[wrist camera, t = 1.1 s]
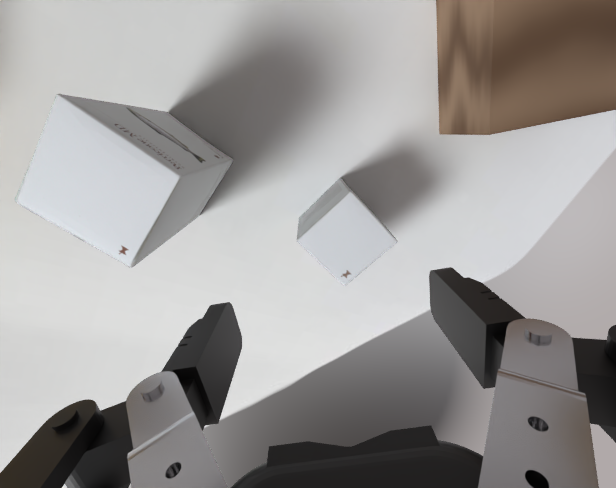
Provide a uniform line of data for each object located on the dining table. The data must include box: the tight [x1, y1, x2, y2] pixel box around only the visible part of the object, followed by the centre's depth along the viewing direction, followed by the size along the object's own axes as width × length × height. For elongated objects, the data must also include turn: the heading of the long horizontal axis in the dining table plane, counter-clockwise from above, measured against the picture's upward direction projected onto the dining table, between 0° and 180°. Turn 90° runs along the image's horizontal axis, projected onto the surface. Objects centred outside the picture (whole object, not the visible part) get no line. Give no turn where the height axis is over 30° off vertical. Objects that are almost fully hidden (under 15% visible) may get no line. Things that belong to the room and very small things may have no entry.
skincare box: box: [297, 178, 397, 286], centre depth 27 cm, size 6×6×7 cm
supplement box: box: [15, 94, 233, 267], centre depth 22 cm, size 7×7×13 cm
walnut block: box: [436, 0, 616, 135], centre depth 21 cm, size 11×11×8 cm
